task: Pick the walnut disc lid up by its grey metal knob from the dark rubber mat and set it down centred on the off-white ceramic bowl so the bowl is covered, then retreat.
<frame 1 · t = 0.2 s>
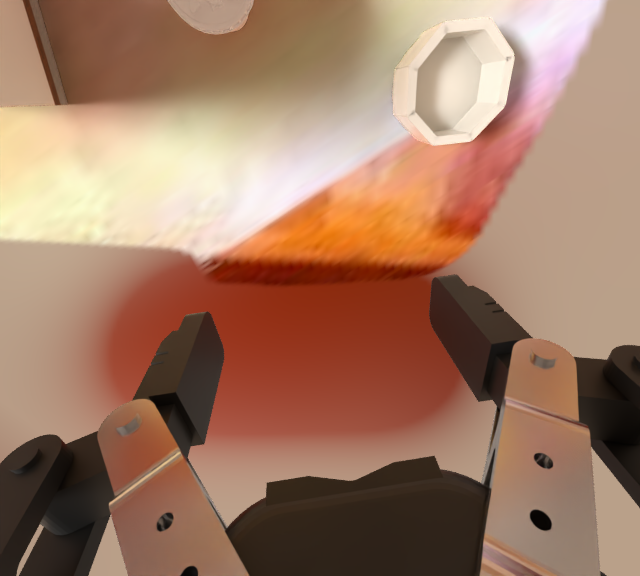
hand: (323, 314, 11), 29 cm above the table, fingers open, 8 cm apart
smoothie: (228, 6, 28), on the table
bowl: (437, 87, 33), on the table
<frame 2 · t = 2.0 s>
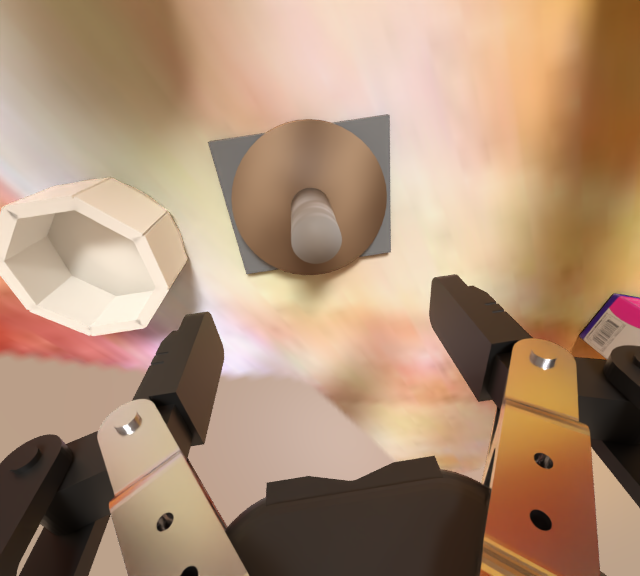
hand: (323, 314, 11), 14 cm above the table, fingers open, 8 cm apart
lid: (309, 203, 23), point 1 cm above the table, touching mat
mat: (309, 201, 24), on the table
bowl: (119, 243, 24), on the table
supplement box: (615, 317, 33), on the table
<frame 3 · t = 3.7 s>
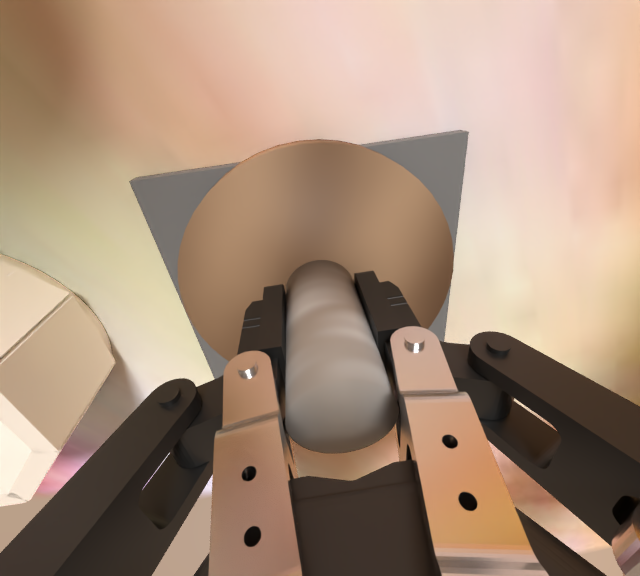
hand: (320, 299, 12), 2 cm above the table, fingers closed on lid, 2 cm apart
lid: (318, 278, 14), point 1 cm above the table, touching gripper, mat
mat: (316, 272, 14), on the table
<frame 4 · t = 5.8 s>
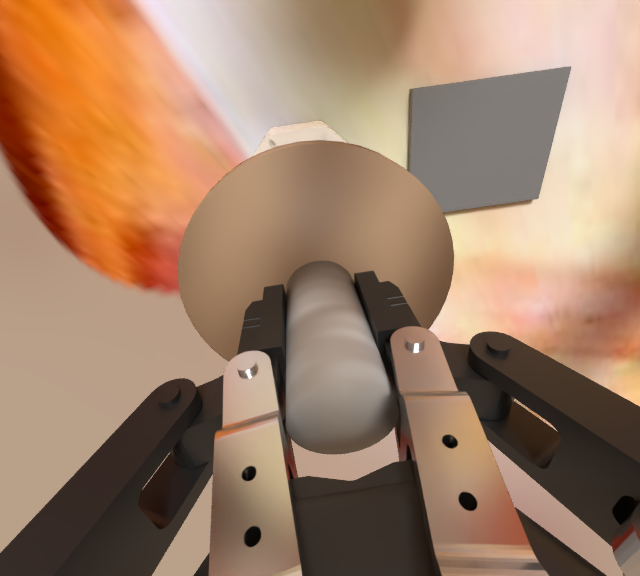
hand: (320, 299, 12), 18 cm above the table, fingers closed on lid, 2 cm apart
lid: (318, 279, 14), point 16 cm above the table, touching gripper
mat: (478, 148, 27), on the table
bowl: (304, 185, 27), on the table
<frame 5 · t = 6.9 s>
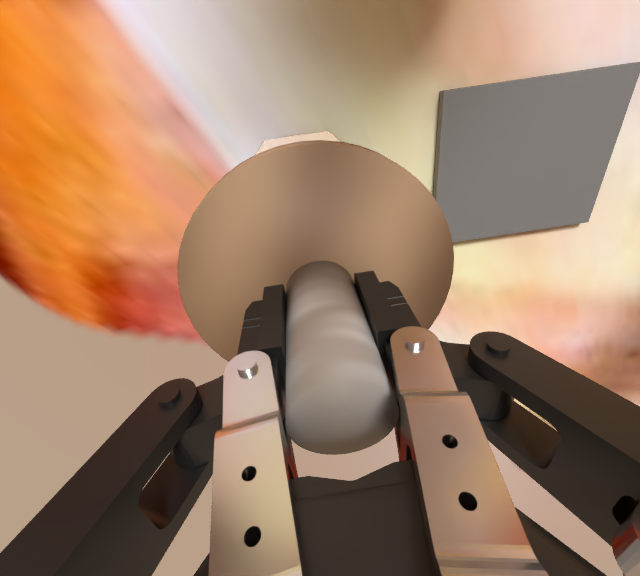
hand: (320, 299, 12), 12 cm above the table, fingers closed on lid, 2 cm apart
lid: (318, 279, 14), point 10 cm above the table, touching gripper
mat: (519, 163, 22), on the table
bowl: (307, 209, 22), on the table
when the fingers open (8 cm above the table, at t = 7.8 s): lid drops 1 cm, resting on bowl.
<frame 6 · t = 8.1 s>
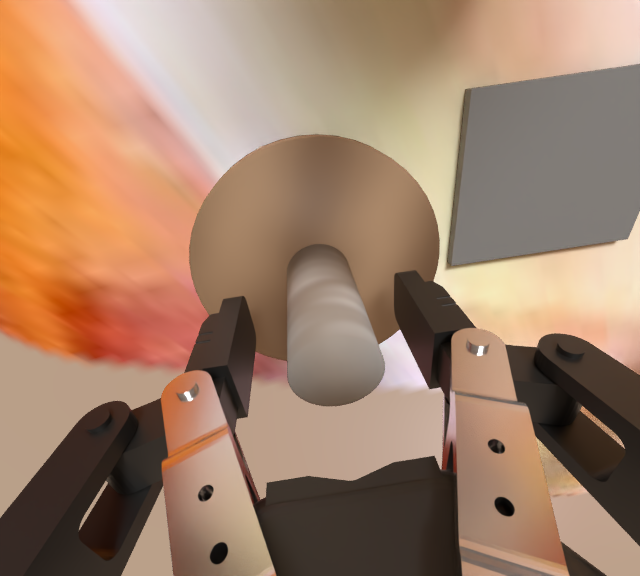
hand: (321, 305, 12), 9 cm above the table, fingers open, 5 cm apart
lid: (316, 262, 15), point 5 cm above the table, touching bowl
mat: (553, 172, 19), on the table
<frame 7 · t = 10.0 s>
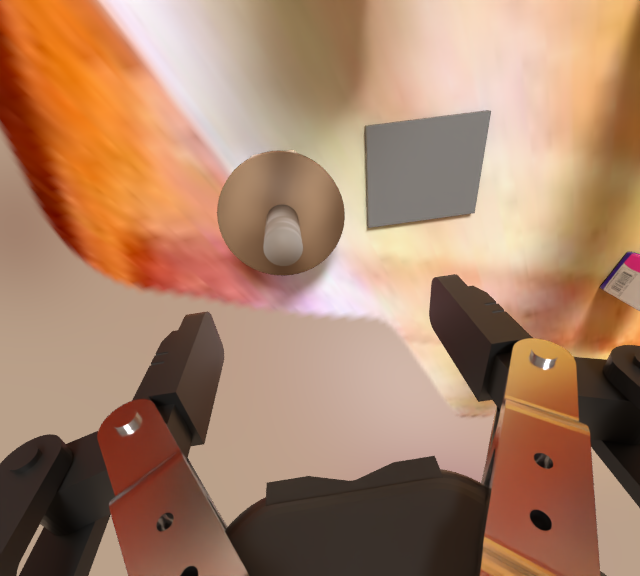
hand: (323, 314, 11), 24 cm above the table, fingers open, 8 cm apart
lid: (282, 216, 28), point 5 cm above the table, touching bowl
mat: (423, 172, 33), on the table
supplement box: (627, 272, 43), on the table
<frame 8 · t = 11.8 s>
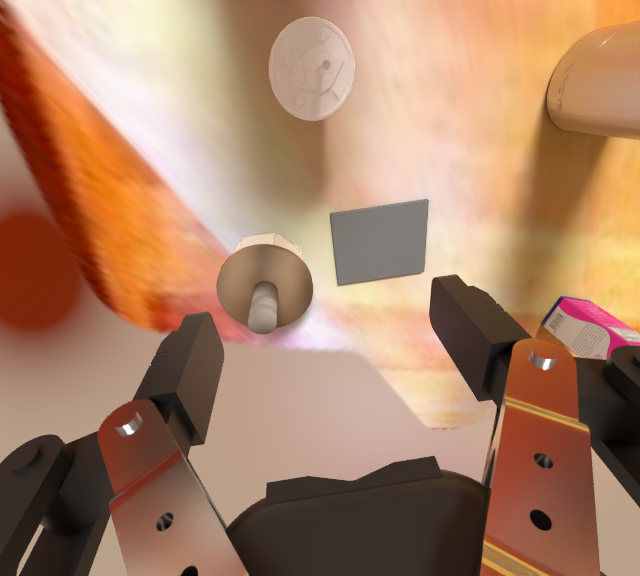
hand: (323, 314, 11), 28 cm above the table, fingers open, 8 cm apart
lid: (266, 286, 37), point 5 cm above the table, touching bowl
mat: (379, 243, 41), on the table
smoothie: (305, 78, 31), on the table
bowl: (267, 267, 42), on the table
supplement box: (564, 311, 51), on the table
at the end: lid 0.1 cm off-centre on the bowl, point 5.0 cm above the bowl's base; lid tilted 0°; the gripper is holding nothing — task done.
